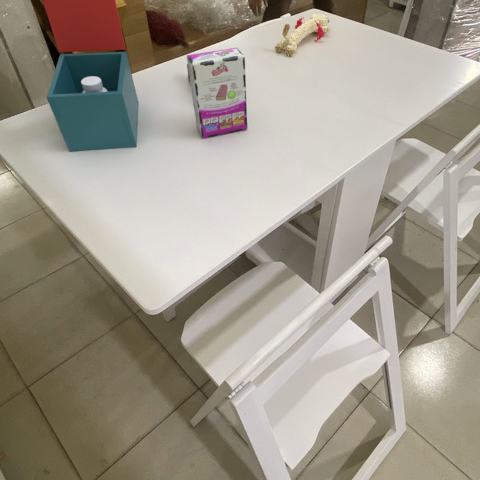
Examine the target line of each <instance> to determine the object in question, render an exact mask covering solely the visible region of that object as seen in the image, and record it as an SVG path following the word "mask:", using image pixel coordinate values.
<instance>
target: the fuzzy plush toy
mask: <svg viewBox="0 0 480 480" xmlns="http://www.w3.org/2000/svg"><path fill="white" fill-rule="evenodd" d="M302 20H304V21H303V22H302ZM329 23H330V19H329V17H328V16H327V15H324V14H321V13H317V12H316V13H313V15H311V16H310V17H309V20H308V19H305V17H304V16H303V17H301V18H299V19H297V20H296V24H295V25H294V30H293V31H292V32H291V33H290V34H289V31H290V28H291V25H290V24H288V23H286V24H284V26H283V29H282V37H283V39H282V40H281V41H278V42H276V45H275V46H274V50H275V51H276V53H277V54H280V53H282V52H283V49H284V50H285V52H284V53H285V54H286V56H287V57H289V58H290V57H291V56H292V55H293V54H294V52H295V51H296V50H297V49H298V44H299V43H300V42H301V41H302V40H303V39H304V38H306V37H307V36H309V35H311V34H312V33H317V37H316V39H315V40H314V42H318V41H319V40H320V41H321V39H322V38H323V37H324V36H325V35H326V34H327V32H330V31H331V29H332V27H331V26H329Z"/></svg>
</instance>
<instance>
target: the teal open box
mask: <svg viewBox="0 0 480 480" xmlns="http://www.w3.org/2000/svg"><path fill="white" fill-rule="evenodd" d="M128 57H129V56H128V52H127V51H109V52H108V51H107V52H106V51H105V52H86V53H85V52H81V53H79V52H77V53H60V54H59V57H58V60H57V63H56V66H55V70H54V73H53V75H52V79H51V81H50V84H49V88H48V91H47V94H46V99H47V100H46V101H47V102H48V105H49V107H50V109H51V112H52V114H53V117H54V118H55V121H56V123H57V126H58V128H59V131H60V133H61V136H62V138H63V141H64V142H65V145H66V147H67V149H68V151H69V152H82V151H97V150H109V149H123V148H124V149H125V148H137V144H138V143H137V142H138V127H139V126H138V123H139V122H138V121H139V99H138V95H137V90H136V86H135V82H134V78H133V74H132V69H131V65H130V62H129V58H128ZM90 76H96V77H99V78H100V79H101V81H102V84H103V87H104V88H105V89H106V90H107V91H108V92H92V93H82V92H83V91H84V89H83V87H82V84H81V81H82V79H84V78H86V77H90Z"/></svg>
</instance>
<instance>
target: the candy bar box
mask: <svg viewBox="0 0 480 480" xmlns="http://www.w3.org/2000/svg"><path fill="white" fill-rule="evenodd" d="M245 57H246V56H245V54H243V53H242V51H240V49H239V48H238V47H232V48H225V49H218V50H212V51H206V52H205V51H204V52H199V53H192V54H187V55H186V63H187V64H188V69H189V76H190V81H189V82H190V89H191V95H192V103H193V110H194V118H195V124H196V125H195V126H196V129H197V131H198V132H199V135H200V136H201V138H202V139H208V138H212V137H217V136H221V135H226V134H231V133H235V132H240V131H245V130H248V114H247V111H248V109H247V108H248V107H247V85H246V84H247V81H246V59H245Z"/></svg>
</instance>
